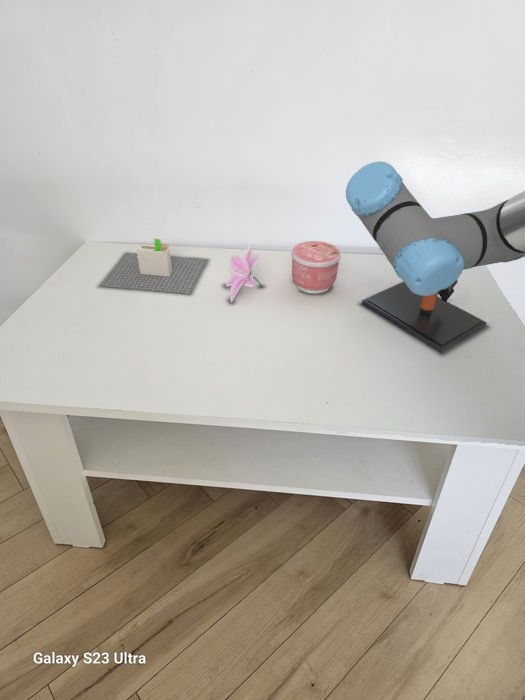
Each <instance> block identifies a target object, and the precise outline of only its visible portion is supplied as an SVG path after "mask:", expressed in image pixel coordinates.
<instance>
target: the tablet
mask: <svg viewBox="0 0 525 700" xmlns="http://www.w3.org/2000/svg"><path fill="white" fill-rule="evenodd" d="M422 297H423V296H421V295H417V294H415V293H413V292H412V291H411V290H410V289H409V288H408V286H407V285H406V284H405V283H404V281H402V282H399V283H398V284H395V285H393V286H391V287H388V288H387V289H384V290H381V291H380V292H377V293H375V294H373V295H371V296H369V297H367V298H364V299H362V301H361V305H363V306H364V307H366V308H367V309H369V310H371V311H372V312H374V313H375V314H378V315H379V316H380V317H382V318H384V319H386V321H389V322H390V323H392V324H394V325H395V326H397V327H398V328H400V329H402V330H403V331H405V332H406V333H408V334H410V335H411V336H413V337H414V338H416V339H417V340H420V341H421V342H423V343H424V344H426V345H428V346H429V347H430V348H433V349H434V350H436V351H437V352H439V353H440V354H442V353H444V352H446V351H448V350H449V349H451V348H453V347H454V346H456V345H457V344H459V343H461V342H462V341H464V340H466V339H467V338H469V337H471V336H472V335H474V334H476V333H477V332H479V331H481V330H483V329H484V328H486V327H487V324H488V322H487V321H484V320H483V319H481V318H479V317H477V316H475V315H473V314H472V313H470V312H468V311H466V310H464V309H462V308H460V307H458V306H456V305H454V304H453V303H451V302H449V301H448V300H447V301H446V302H445V301H443V300H442V298H441V297H440V296H437V299H436V302H435V306H434V309H433V310H432V312H431V313H430V314H424V313H422V312H421V311H420V309H421V307H420V305H421V301H422Z"/></svg>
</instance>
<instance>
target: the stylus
mask: <svg viewBox="0 0 525 700" xmlns="http://www.w3.org/2000/svg"><path fill="white" fill-rule="evenodd" d="M438 296H439V294H438V293H436V294H433V295H429V296H423V297H422V301H421V305H420V307H421V309H420V311H421V312H422V313H424V314H430V313H431V312H432V310H433V309H434V306H435V302H436V299H437V297H438Z"/></svg>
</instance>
